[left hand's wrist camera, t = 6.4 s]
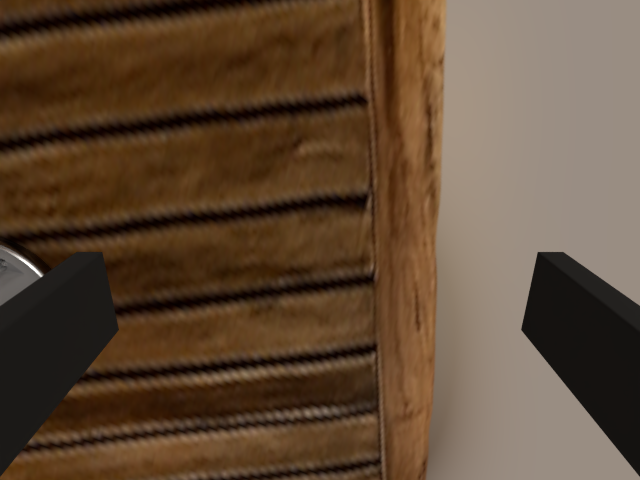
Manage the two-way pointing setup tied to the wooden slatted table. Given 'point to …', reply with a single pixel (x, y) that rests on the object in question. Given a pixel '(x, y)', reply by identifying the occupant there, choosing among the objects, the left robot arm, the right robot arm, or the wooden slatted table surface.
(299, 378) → the wooden slatted table surface
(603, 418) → the left robot arm
